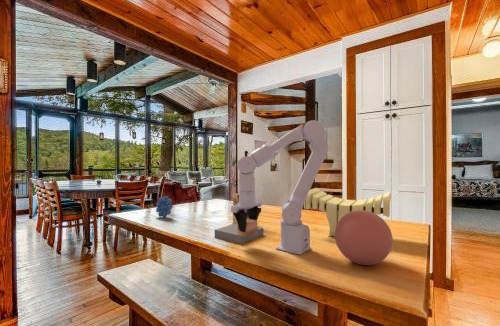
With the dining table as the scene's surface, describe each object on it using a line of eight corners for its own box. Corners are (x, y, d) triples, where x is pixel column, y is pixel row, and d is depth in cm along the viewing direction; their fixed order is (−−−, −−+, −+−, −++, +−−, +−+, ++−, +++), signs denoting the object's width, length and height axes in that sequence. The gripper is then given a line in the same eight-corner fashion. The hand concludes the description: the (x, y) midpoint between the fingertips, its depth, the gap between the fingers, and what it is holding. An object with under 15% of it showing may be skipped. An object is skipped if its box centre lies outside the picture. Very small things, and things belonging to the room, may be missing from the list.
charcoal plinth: (263, 235, 103) (263, 227, 103) (240, 244, 92) (240, 235, 92) (238, 229, 112) (237, 222, 112) (214, 237, 101) (214, 229, 101)
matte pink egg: (386, 252, 83) (385, 205, 83) (397, 278, 64) (397, 217, 64) (336, 246, 88) (336, 202, 88) (333, 269, 70) (333, 214, 70)
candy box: (237, 227, 115) (237, 194, 115) (232, 226, 119) (232, 193, 119) (253, 225, 120) (253, 192, 120) (248, 223, 124) (248, 192, 124)
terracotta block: (257, 234, 89) (257, 220, 89) (248, 237, 86) (248, 222, 86) (246, 231, 93) (246, 218, 93) (237, 235, 89) (237, 220, 89)
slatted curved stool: (305, 234, 103) (305, 191, 103) (316, 226, 117) (316, 187, 117) (389, 246, 88) (389, 195, 88) (390, 235, 102) (390, 190, 102)
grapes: (178, 217, 140) (177, 195, 140) (169, 219, 134) (168, 196, 133) (162, 215, 145) (162, 194, 145) (153, 217, 139) (152, 195, 139)
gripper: (251, 188, 97) (251, 223, 97) (224, 192, 86) (224, 232, 86) (266, 189, 93) (266, 226, 93) (239, 193, 81) (240, 235, 81)
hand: (247, 229), depth 89 cm, fingers closed on terracotta block, 5 cm apart
